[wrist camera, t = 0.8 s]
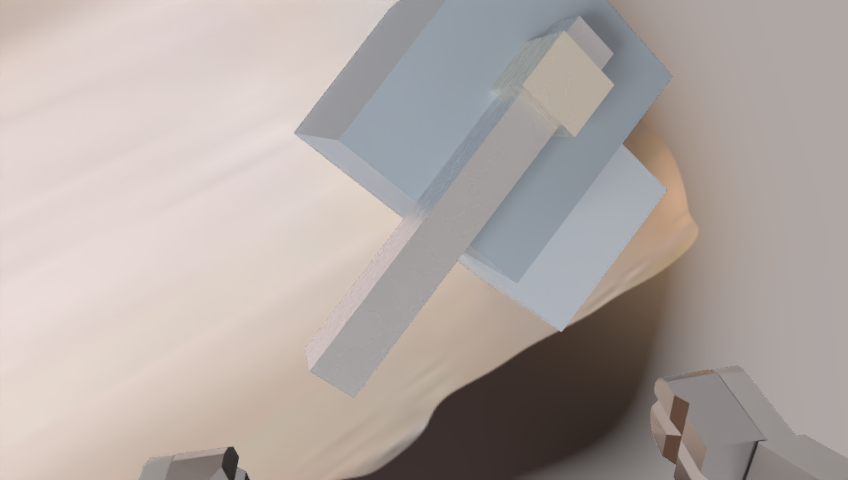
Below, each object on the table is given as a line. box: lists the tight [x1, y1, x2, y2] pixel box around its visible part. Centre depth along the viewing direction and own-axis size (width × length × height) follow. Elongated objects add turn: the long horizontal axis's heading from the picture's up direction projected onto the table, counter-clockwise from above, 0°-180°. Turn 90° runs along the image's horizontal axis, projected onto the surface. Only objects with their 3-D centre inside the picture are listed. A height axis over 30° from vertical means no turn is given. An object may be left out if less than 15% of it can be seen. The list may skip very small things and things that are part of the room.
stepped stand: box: [294, 0, 672, 332], centre depth 42 cm, size 14×24×26 cm, turn 50°
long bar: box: [304, 16, 614, 398], centre depth 26 cm, size 20×4×4 cm, turn 140°
